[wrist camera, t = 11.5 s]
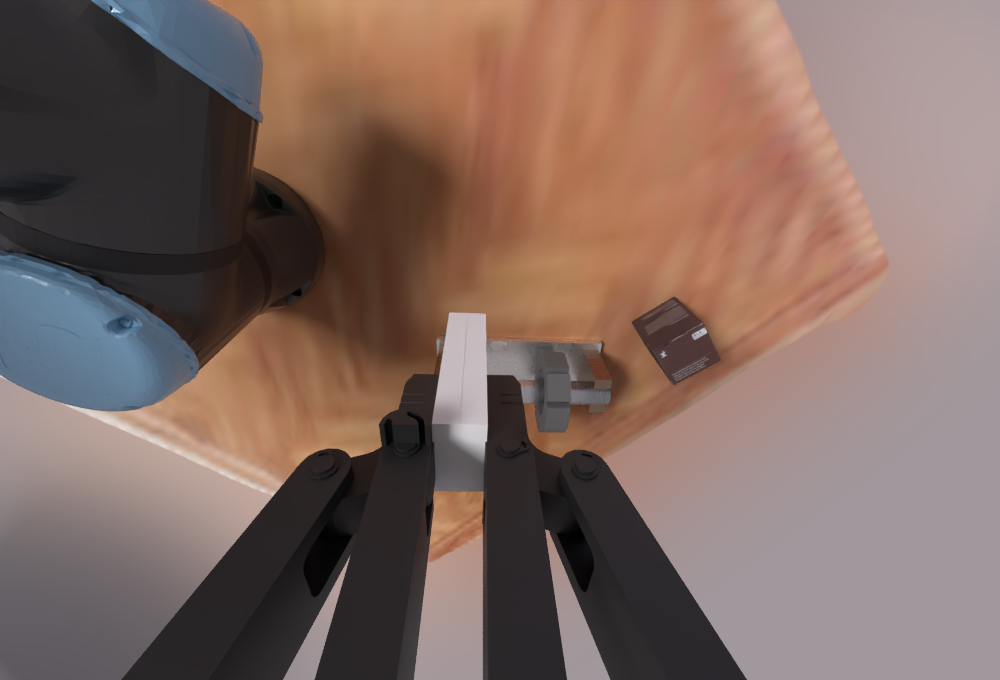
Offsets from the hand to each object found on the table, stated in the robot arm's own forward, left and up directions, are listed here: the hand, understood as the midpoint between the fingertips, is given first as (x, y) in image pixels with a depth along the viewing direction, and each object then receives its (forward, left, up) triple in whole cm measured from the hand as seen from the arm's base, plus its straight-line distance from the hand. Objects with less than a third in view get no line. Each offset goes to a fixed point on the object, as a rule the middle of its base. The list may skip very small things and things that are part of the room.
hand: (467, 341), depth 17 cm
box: (+24, -14, -29) cm, 40 cm away
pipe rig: (+6, -20, -28) cm, 35 cm away
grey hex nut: (+9, -20, -26) cm, 35 cm away
